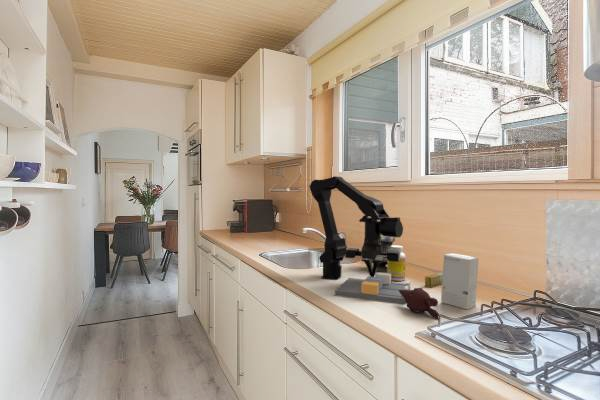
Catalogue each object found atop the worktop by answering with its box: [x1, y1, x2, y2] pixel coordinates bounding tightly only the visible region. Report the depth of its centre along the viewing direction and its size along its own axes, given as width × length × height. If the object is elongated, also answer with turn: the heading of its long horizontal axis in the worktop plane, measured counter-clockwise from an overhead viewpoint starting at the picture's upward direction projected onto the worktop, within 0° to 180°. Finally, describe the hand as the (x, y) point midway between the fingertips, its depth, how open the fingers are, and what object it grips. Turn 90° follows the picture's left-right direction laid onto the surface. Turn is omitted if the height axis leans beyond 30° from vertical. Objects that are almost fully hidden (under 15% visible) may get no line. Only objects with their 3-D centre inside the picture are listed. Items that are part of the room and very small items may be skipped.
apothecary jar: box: [372, 234, 396, 273], centre depth 146 cm, size 12×12×18 cm
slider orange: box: [361, 281, 379, 295], centre depth 109 cm, size 5×4×3 cm
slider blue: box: [365, 275, 383, 289], centre depth 115 cm, size 5×4×3 cm
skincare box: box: [440, 253, 479, 310], centre depth 102 cm, size 8×6×15 cm
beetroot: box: [399, 287, 440, 320], centre depth 96 cm, size 7×7×15 cm
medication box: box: [424, 271, 443, 289], centre depth 125 cm, size 12×3×4 cm, turn 127°
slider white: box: [374, 272, 392, 285], centre depth 121 cm, size 5×4×3 cm
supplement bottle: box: [387, 244, 406, 282], centre depth 131 cm, size 7×7×13 cm
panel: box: [334, 277, 411, 305], centre depth 115 cm, size 22×18×3 cm
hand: (372, 278), depth 122 cm, fingers closed
